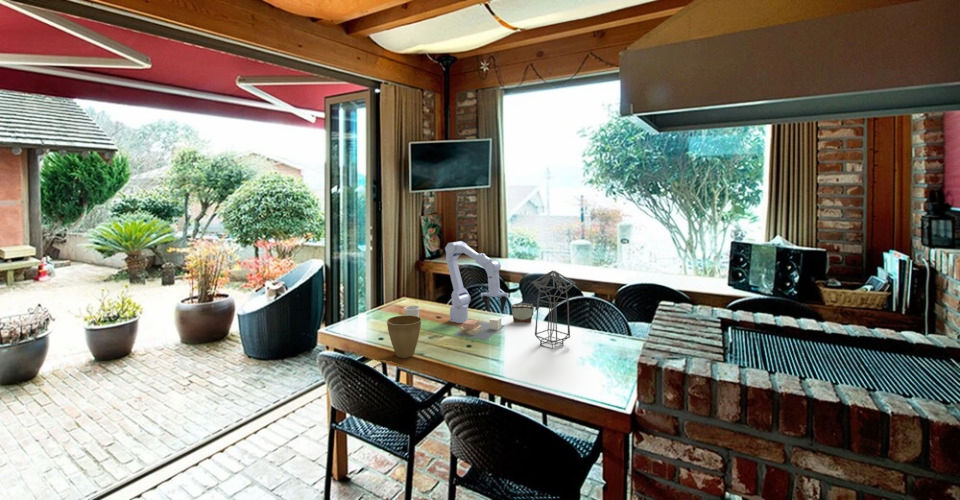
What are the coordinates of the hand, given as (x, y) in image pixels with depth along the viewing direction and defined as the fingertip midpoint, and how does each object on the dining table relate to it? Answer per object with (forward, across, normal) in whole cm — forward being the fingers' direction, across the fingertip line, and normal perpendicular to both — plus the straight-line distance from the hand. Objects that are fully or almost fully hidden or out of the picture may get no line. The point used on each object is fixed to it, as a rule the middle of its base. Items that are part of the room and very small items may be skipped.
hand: (495, 310), depth 226 cm
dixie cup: (+7, -44, -9) cm, 46 cm away
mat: (+10, -7, -6) cm, 13 cm away
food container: (+10, +8, +18) cm, 22 cm away
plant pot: (+9, -26, -46) cm, 54 cm away
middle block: (+6, -10, -10) cm, 15 cm away
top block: (+9, -1, 0) cm, 9 cm away
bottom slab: (+9, -10, -9) cm, 16 cm away
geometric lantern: (+13, +31, -12) cm, 36 cm away
